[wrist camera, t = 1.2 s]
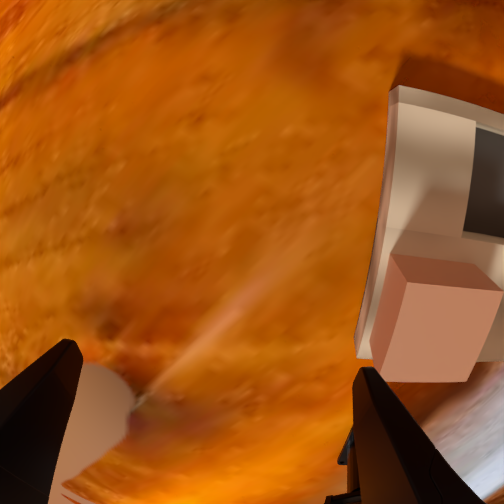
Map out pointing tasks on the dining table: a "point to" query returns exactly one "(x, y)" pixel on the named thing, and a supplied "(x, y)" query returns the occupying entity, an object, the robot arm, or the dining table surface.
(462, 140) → the trap board
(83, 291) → the dining table surface
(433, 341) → the terracotta block
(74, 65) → the dining table surface
